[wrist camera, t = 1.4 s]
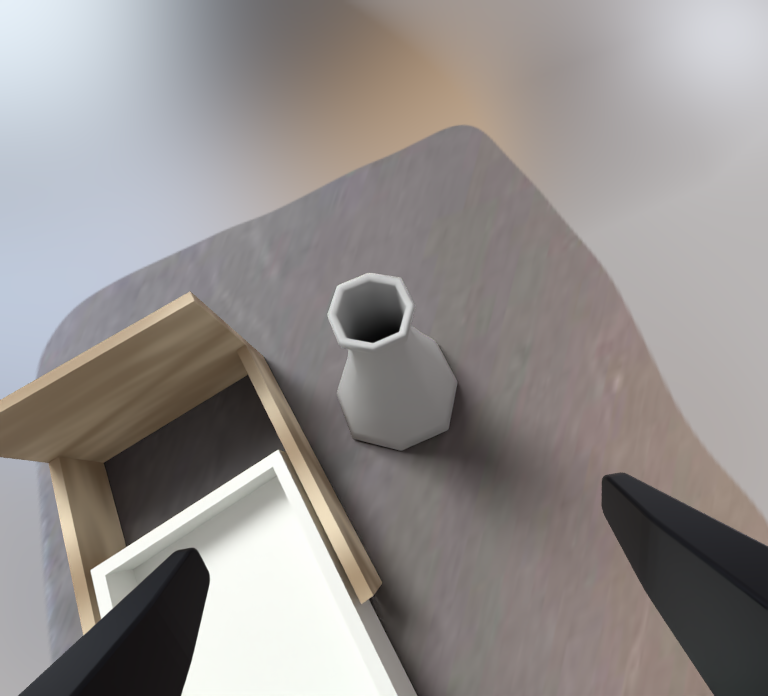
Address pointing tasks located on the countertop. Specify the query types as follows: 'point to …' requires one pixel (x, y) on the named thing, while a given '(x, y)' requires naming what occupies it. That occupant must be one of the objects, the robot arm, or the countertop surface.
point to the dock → (150, 429)
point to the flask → (389, 365)
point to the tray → (266, 595)
